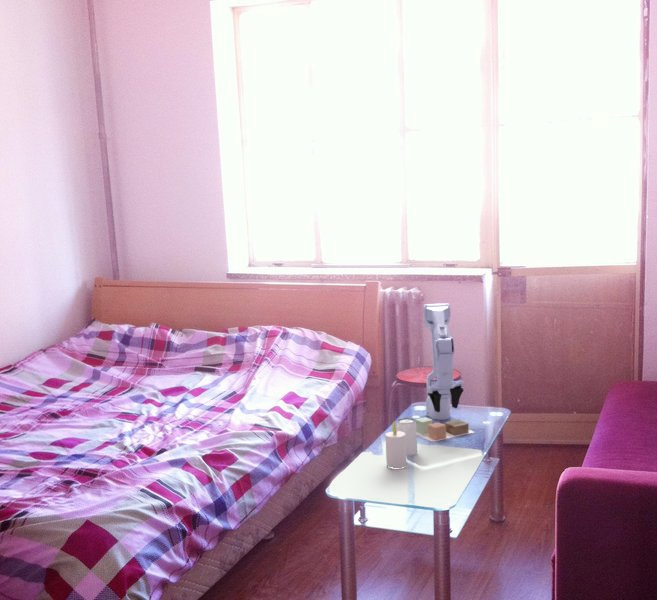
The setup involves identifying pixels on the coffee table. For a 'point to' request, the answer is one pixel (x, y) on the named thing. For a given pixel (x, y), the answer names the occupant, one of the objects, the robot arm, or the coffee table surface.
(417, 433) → the cream board
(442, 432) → the terracotta block
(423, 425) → the sage block
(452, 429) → the walnut block
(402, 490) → the coffee table surface
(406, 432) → the can
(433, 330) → the robot arm
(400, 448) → the candle
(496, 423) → the coffee table surface
